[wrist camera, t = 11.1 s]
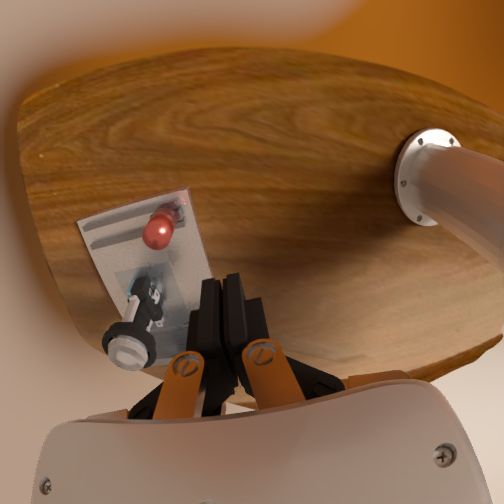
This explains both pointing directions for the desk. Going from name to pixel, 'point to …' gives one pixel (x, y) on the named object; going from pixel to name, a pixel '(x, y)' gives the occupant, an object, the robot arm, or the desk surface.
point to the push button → (135, 328)
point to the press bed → (152, 262)
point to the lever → (161, 227)
